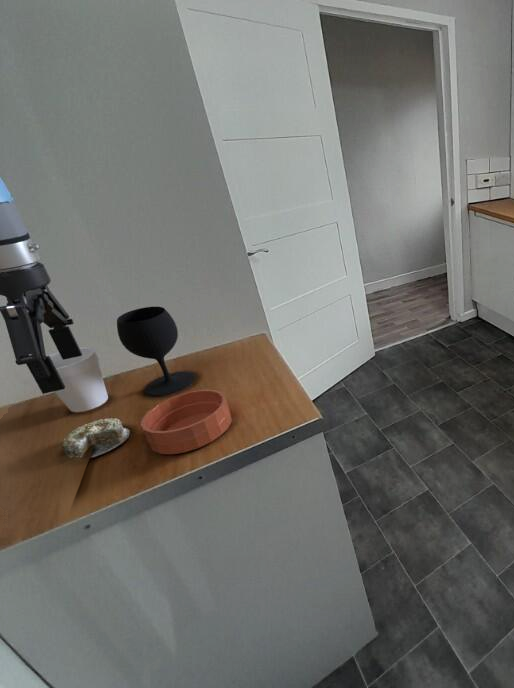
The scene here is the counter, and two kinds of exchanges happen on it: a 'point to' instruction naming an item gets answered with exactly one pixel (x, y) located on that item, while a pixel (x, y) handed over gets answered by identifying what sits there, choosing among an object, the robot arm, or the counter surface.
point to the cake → (95, 438)
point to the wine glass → (153, 345)
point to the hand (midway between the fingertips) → (64, 372)
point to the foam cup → (80, 380)
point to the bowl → (186, 421)
